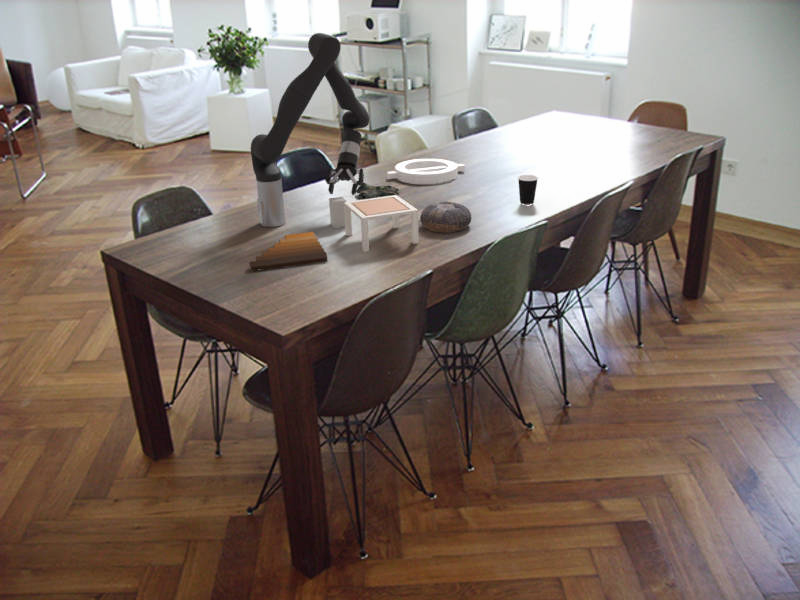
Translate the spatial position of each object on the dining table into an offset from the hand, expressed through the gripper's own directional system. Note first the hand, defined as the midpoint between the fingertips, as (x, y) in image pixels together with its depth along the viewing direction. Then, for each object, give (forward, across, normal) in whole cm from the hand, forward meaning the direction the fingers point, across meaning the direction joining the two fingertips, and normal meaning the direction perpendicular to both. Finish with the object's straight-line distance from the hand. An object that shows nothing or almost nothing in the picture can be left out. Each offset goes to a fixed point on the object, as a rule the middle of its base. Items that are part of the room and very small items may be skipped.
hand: (341, 193), depth 290 cm
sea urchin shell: (+8, +40, +7) cm, 41 cm away
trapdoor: (+12, +19, -13) cm, 26 cm away
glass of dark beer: (-14, +67, +29) cm, 74 cm away
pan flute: (+34, -10, -19) cm, 40 cm away
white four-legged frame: (+20, +19, -5) cm, 28 cm away
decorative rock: (-18, +5, +33) cm, 38 cm away
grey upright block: (+11, 0, +4) cm, 12 cm away
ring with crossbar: (-40, +19, +55) cm, 71 cm away
